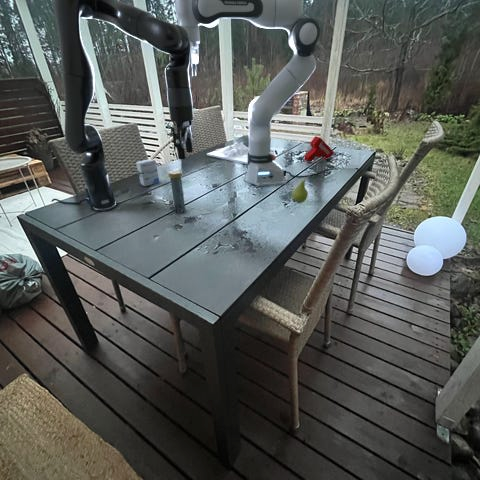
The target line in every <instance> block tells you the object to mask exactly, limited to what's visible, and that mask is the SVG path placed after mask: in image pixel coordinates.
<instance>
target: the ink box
mask: <svg viewBox="0 0 480 480" xmlns="http://www.w3.org/2000/svg"><path fill="white" fill-rule="evenodd" d="M135 165H136V168H137V173H138V178H139V182H140V185H141V186H144V187H149V186H152V185H155V184H158V183H160V177H159V172H158V167H157V162H156V160H155V159H153V158H147V159H144V160H139V161H136V162H135Z"/></svg>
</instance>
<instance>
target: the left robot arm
mask: <svg viewBox="0 0 480 480" xmlns="http://www.w3.org/2000/svg"><path fill="white" fill-rule="evenodd" d="M52 5H53V9H54V15H55V21H56V26H57V32H58V40H59V51H60V60H61V73H62V74H61V76H62V84H63V94H64V95H63V97H64V98H63V99H64V140H65V142H66V145H67V147H68V149H69V150H70V151H71V152H72V153H74V154H76V155H82V154H83V157H82V159H81V160H80V161H79V163H78V166H79V169H80V173H81V175H82V177H83V181H84V184H85V187H84V192H85V194H86V197H85V198H83V199H80V200H79V201H78V202H77V201H76V202H73V201H71V202H70V201H63V200H61V199H58V198H52V199H51V200H50V202H54V201H56V202H59V203H61V204H67V205H79V204H81V203H82V202H84V201H86V203H87V204H88V205H89V206H90V209H91V210H94V211H95V212H106V211H109V210H113V209H114V208H116V207H117V202H116V198H115V195H114V191H113V188H112V185H111V181H110V178H109V174H108V170H107V165H106V155H105V149H104V145H103V140H102V137H101V135H100V133H99V131H98V129H96V127H95V126H94V125H91V124H86V117H87V113H88V110H89V109H90V106H91V103H92V101H93V99H94V95H95V86H96V85H95V84H96V83H95V68H94V66H93V63H92V61H91V58H90V56H89V54H88V53H87V50H86V47H85V46H84V43H83V40H82V35H81V19H91V20H92V19H93V20H97V21H102V22H106V23H108V24H111V25H113V26H115V27H116V28H117V29H119V31H122V32H123V33H125V34H126V35H128V36H131V37H132V38H134V39H137V40H139V41H141V42H144V43H147V44H148V45H150V46H151V47H153V48H155V49H156V50H158V51H160V52H162V53H164V54H168V55H169V63H168V64H167V65H166V66H165V68H164V75H165V84H166V96H167V105H168V112H169V119H170V121H171V122H175V126H172V127H171V132H172V143H173V147H174V148H176V149H177V156H178V160H186V157H187V156H186V153H190V154H191V153H193V152H194V148H193V140H194V138H195V134H194V124H193V120H194V118H195V117H194V107H193V106H194V105H193V96H192V95H193V94H192V90H191V82H190V77H189V63H190V39H189V36H188V33H187V31H186V30H185V29H184V28H183V27H182V26H180V25H178V24H175V23H171V22H169V21H164V20H162V19H160V18H158V17H155V15H153V14H152V13H151V12H148V11H145V10H144V9H141V8H139V7H136V6H134V5H131V4H129V3H126V2H123V1H121V0H52Z"/></svg>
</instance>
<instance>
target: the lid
mask: <svg viewBox="0 0 480 480" xmlns="http://www.w3.org/2000/svg"><path fill="white" fill-rule="evenodd" d="M167 174H168V177H169V179H170V178H179V177H181V178H182V176H183V172H182V170H180V169H171V170H169V171H168V172H167Z"/></svg>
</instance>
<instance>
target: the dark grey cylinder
mask: <svg viewBox="0 0 480 480" xmlns="http://www.w3.org/2000/svg"><path fill="white" fill-rule="evenodd" d="M169 179H170V185H171V191H172V199H173V206H174V211H175V214H177V215H183V214H185V213H186V205H185V197H184V196H185V195H184V189H183V188H184V187H183V180H182V176H181V177H179V178H170V177H169Z"/></svg>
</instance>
